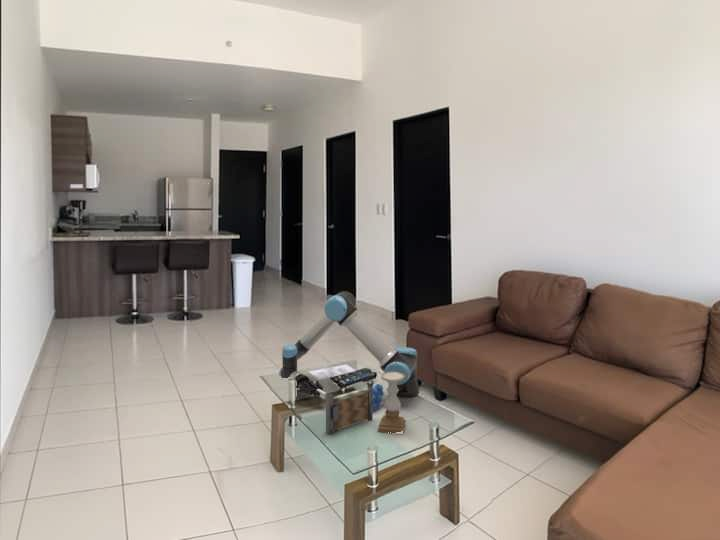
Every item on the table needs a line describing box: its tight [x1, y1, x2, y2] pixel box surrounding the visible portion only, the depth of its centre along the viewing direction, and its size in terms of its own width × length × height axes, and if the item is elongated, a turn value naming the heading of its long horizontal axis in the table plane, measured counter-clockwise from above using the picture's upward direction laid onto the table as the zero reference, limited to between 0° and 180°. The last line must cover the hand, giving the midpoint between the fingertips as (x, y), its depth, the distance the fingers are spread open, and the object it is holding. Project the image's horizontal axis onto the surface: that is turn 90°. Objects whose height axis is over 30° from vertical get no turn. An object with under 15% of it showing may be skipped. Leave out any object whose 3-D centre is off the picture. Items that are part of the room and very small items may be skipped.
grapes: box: [373, 383, 385, 412], centre depth 248 cm, size 12×7×12 cm, turn 151°
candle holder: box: [377, 372, 407, 434], centre depth 228 cm, size 11×11×24 cm
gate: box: [334, 387, 369, 432], centre depth 230 cm, size 18×2×14 cm, turn 127°
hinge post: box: [366, 380, 375, 422], centre depth 236 cm, size 3×3×18 cm
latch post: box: [325, 393, 339, 435], centre depth 223 cm, size 4×4×17 cm
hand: (325, 396), depth 245 cm, fingers closed
